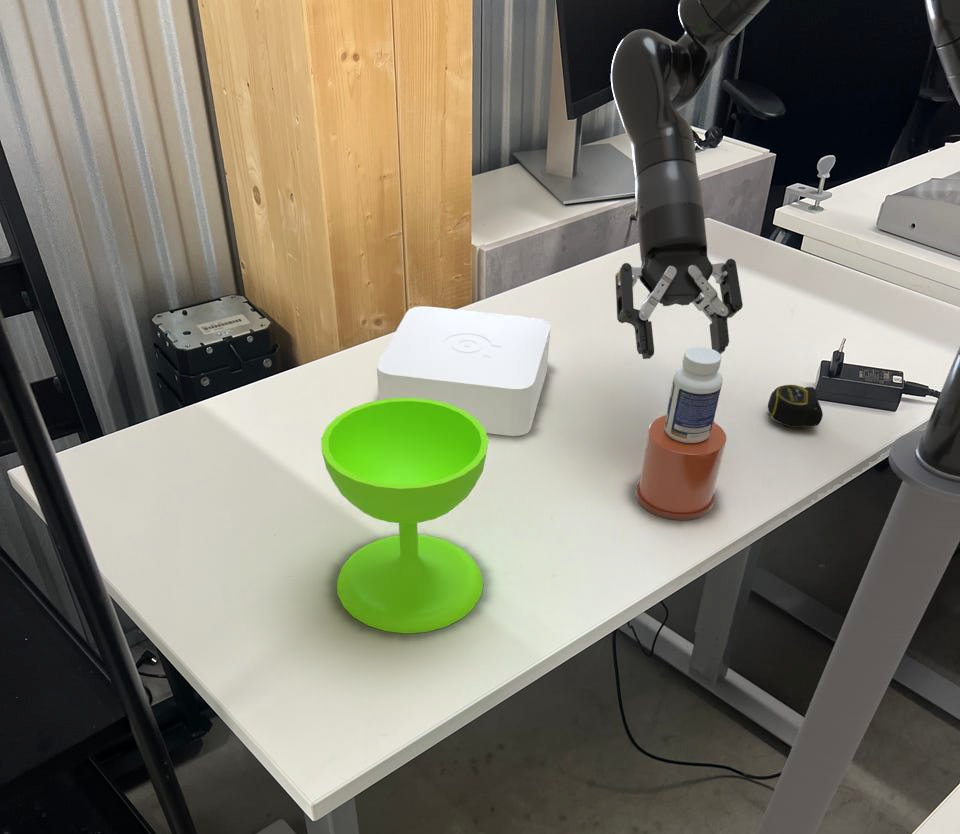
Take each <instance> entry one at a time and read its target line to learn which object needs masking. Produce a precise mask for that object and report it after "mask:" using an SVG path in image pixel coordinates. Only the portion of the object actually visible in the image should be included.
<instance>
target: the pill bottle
mask: <svg viewBox="0 0 960 834" xmlns="http://www.w3.org/2000/svg"><path fill="white" fill-rule="evenodd" d="M683 354H684V355H683V359H682V366H680V367H678V368H677V369H676V370H675V372H674V375H673V378H672V384H671V389H670V395H669V401H668V405H667V410H666V414H665V415H666V421H665V431H666V433H667V434H668V435H669V436H670V437H671V438H673V439H674V440H677V441H679V442H683V443H698V442H702V441H704V440H706V439H707V438H708V437H709V436H710V433H711V429H712V425H713V422H715V415H716V412H717V409H718V404H719V398H720V394H721V392H722V391H721V390H722V387H723V386H722V385H723V376H722V374H721V373H720V371H719V369H720V366H721V363H722V362H721V361H722V355H721V354H719V353H718V352H717V351H715V350H713V349H712V348H710V347H705V346H693V347H690V348H687V349H686V350H685V352H684V353H683Z"/></svg>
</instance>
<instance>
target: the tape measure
mask: <svg viewBox="0 0 960 834" xmlns="http://www.w3.org/2000/svg"><path fill="white" fill-rule="evenodd" d="M767 411H768V414H769V415H770V417H771V418H772V420H774V421H776V422H777V423H778V424H781V425H783V426H787V427H792V428H801V427H816V426H819V425H820V424H821V422H822V419H823V409H822V406H821V404H820V402H819V397H818V393H817V390H816V388H815V387H812V386H806V387H803V386H800V385H796V384H784V385H780V386H777V387H776V388H775V389H774V390H773V391H772V393H771V394H770V396H769V399H768V403H767Z"/></svg>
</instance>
